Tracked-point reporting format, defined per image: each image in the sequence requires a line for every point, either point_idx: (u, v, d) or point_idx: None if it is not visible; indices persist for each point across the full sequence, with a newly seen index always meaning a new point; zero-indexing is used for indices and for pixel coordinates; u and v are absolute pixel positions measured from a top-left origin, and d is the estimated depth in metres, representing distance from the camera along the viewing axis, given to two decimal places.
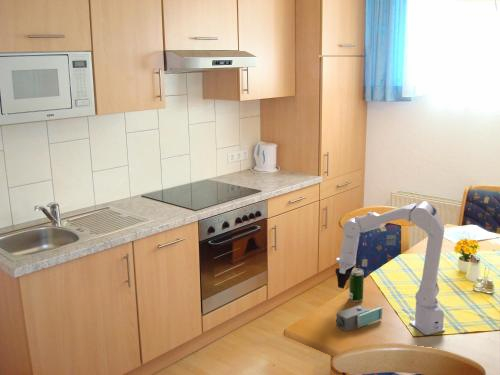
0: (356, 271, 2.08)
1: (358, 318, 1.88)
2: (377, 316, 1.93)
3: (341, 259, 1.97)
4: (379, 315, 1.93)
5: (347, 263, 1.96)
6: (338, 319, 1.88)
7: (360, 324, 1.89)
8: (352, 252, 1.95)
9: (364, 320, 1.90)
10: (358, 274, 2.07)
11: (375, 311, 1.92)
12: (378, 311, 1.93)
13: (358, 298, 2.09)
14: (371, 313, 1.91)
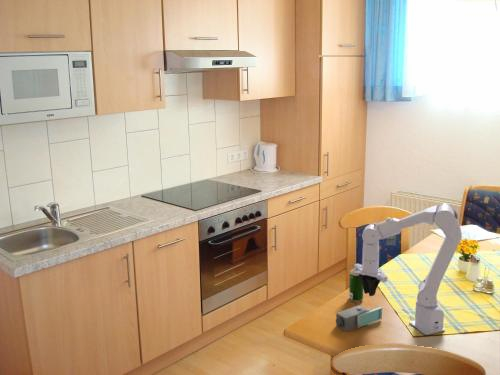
0: (356, 271, 2.08)
1: (358, 318, 1.88)
2: (377, 316, 1.93)
3: (371, 270, 1.89)
4: (379, 315, 1.93)
5: (377, 271, 1.90)
6: (338, 319, 1.88)
7: (360, 324, 1.89)
8: (375, 260, 1.88)
9: (364, 320, 1.90)
10: (358, 274, 2.07)
11: (375, 311, 1.92)
12: (378, 311, 1.93)
13: (358, 298, 2.09)
14: (371, 313, 1.91)
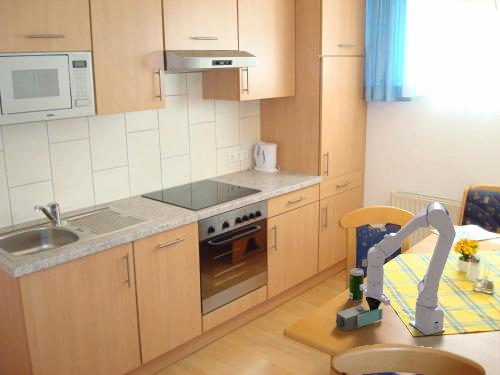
0: (356, 271, 2.08)
1: (358, 318, 1.88)
2: (377, 316, 1.93)
3: (374, 292, 1.89)
4: (379, 315, 1.93)
5: (381, 293, 1.89)
6: (338, 319, 1.88)
7: (360, 324, 1.89)
8: (380, 282, 1.88)
9: (364, 320, 1.89)
10: (358, 274, 2.07)
11: (375, 311, 1.92)
12: (378, 311, 1.92)
13: (358, 298, 2.09)
14: (371, 313, 1.91)
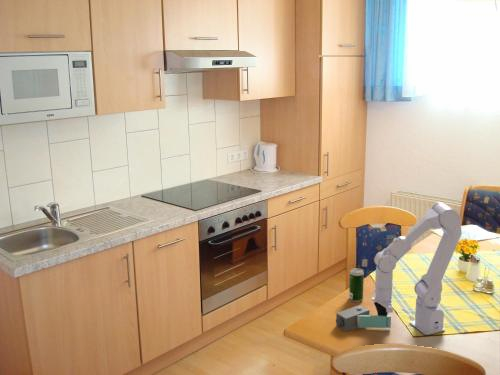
0: (356, 271, 2.08)
1: (357, 318, 1.88)
2: (384, 323, 1.88)
3: (380, 298, 1.84)
4: (386, 323, 1.87)
5: (387, 300, 1.84)
6: (338, 319, 1.88)
7: (360, 325, 1.88)
8: (390, 287, 1.84)
9: (366, 322, 1.88)
10: (358, 274, 2.07)
11: (381, 317, 1.87)
12: (385, 318, 1.87)
13: (358, 298, 2.09)
14: (375, 318, 1.87)
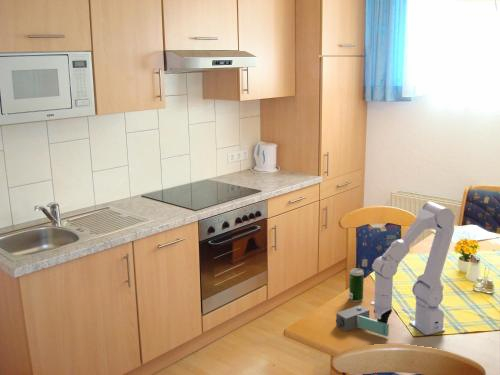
0: (356, 271, 2.08)
1: (357, 318, 1.88)
2: (381, 330, 1.83)
3: (376, 303, 1.81)
4: (383, 330, 1.82)
5: (383, 307, 1.79)
6: (338, 319, 1.88)
7: (359, 325, 1.88)
8: (391, 292, 1.80)
9: (364, 324, 1.87)
10: (358, 274, 2.07)
11: (378, 323, 1.83)
12: (382, 326, 1.82)
13: (358, 298, 2.09)
14: (373, 322, 1.84)
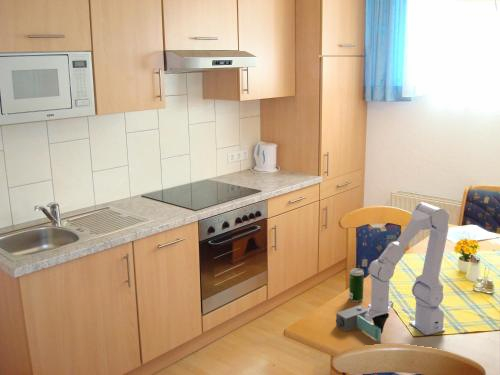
0: (356, 271, 2.08)
1: (357, 317, 1.88)
2: (374, 334, 1.81)
3: (371, 305, 1.80)
4: None
5: (376, 310, 1.78)
6: (338, 319, 1.88)
7: (358, 325, 1.88)
8: (388, 295, 1.78)
9: (362, 325, 1.86)
10: (358, 274, 2.07)
11: (372, 326, 1.81)
12: (375, 329, 1.80)
13: (358, 298, 2.09)
14: (368, 324, 1.83)
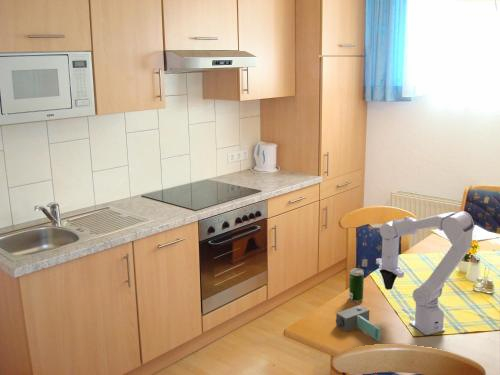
0: (356, 271, 2.08)
1: (357, 317, 1.88)
2: (374, 334, 1.81)
3: (388, 265, 1.93)
4: None
5: (395, 266, 1.94)
6: (338, 319, 1.88)
7: (358, 325, 1.88)
8: (391, 255, 1.92)
9: (362, 325, 1.86)
10: (358, 274, 2.07)
11: (372, 326, 1.81)
12: (375, 329, 1.80)
13: (358, 298, 2.09)
14: (368, 324, 1.83)
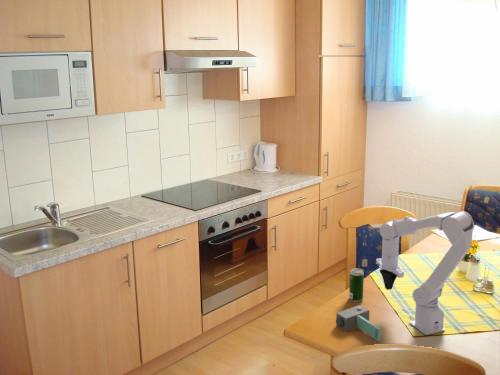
0: (356, 271, 2.08)
1: (357, 317, 1.88)
2: (374, 334, 1.81)
3: (388, 265, 1.93)
4: None
5: (395, 266, 1.94)
6: (338, 319, 1.88)
7: (358, 325, 1.88)
8: (391, 255, 1.92)
9: (362, 325, 1.86)
10: (358, 274, 2.07)
11: (372, 326, 1.81)
12: (375, 329, 1.80)
13: (358, 298, 2.09)
14: (368, 324, 1.83)
